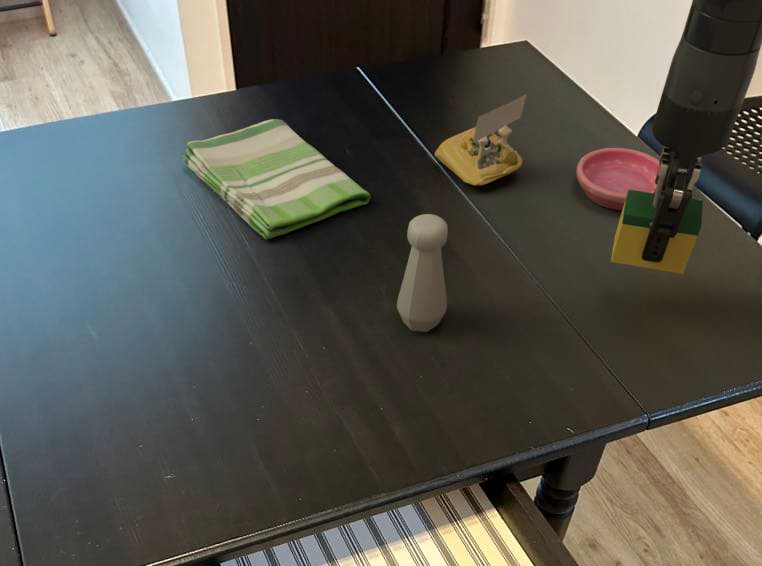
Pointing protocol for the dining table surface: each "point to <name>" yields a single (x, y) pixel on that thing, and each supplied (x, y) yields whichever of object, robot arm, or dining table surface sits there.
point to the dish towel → (273, 178)
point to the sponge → (637, 229)
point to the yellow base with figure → (484, 147)
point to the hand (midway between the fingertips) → (652, 244)
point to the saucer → (616, 175)
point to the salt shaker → (424, 274)
